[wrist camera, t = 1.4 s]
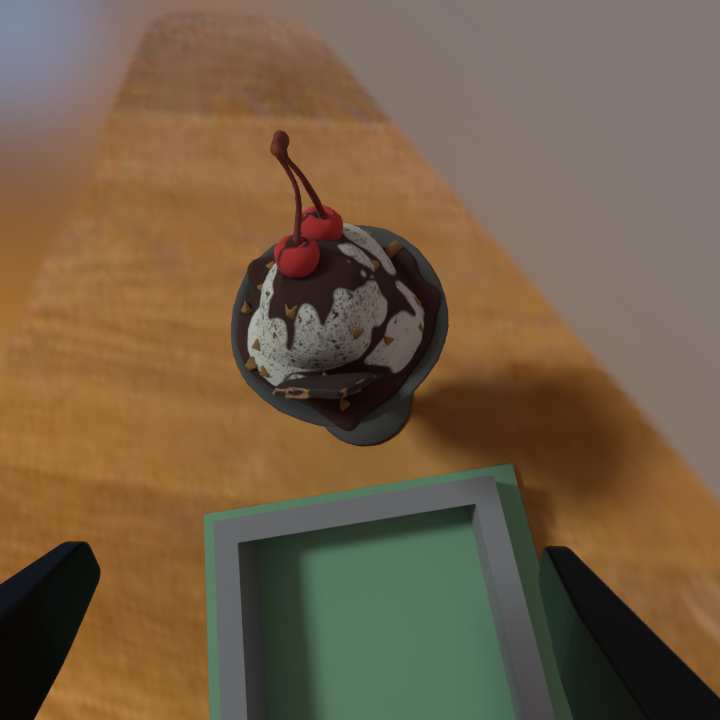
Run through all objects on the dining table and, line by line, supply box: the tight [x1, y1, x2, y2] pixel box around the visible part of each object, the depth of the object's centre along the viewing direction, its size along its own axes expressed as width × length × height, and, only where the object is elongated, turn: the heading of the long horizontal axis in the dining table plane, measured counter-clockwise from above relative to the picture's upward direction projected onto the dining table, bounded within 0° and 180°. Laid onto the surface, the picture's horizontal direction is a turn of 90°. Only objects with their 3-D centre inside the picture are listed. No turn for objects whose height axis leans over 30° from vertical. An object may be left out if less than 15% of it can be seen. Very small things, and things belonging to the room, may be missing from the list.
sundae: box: [231, 130, 448, 446], centre depth 16 cm, size 7×7×15 cm
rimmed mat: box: [204, 463, 573, 720], centre depth 17 cm, size 15×15×3 cm
